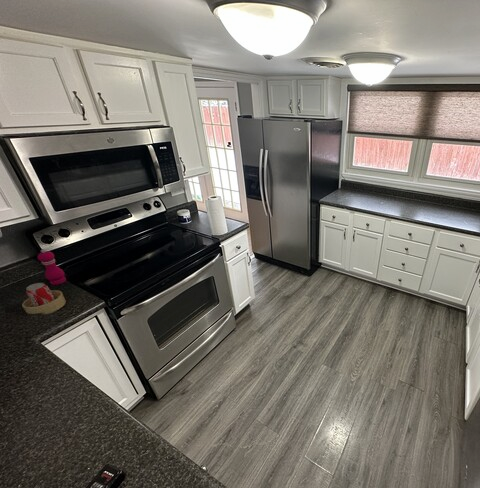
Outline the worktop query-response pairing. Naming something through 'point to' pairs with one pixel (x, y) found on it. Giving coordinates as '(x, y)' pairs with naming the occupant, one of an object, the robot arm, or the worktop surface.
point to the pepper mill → (51, 267)
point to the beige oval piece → (47, 307)
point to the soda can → (39, 294)
